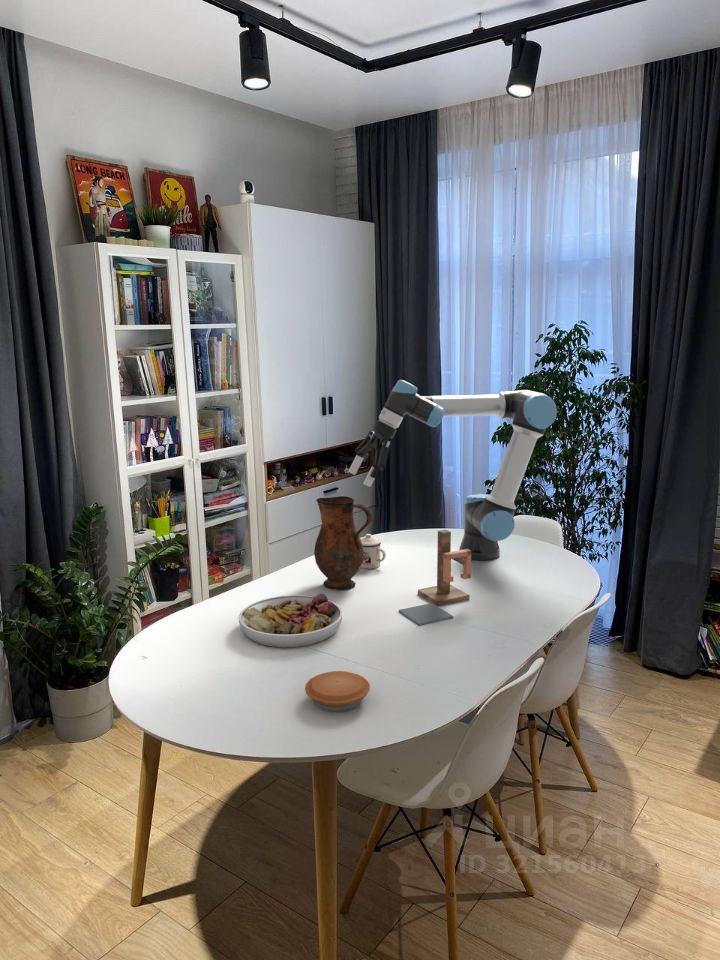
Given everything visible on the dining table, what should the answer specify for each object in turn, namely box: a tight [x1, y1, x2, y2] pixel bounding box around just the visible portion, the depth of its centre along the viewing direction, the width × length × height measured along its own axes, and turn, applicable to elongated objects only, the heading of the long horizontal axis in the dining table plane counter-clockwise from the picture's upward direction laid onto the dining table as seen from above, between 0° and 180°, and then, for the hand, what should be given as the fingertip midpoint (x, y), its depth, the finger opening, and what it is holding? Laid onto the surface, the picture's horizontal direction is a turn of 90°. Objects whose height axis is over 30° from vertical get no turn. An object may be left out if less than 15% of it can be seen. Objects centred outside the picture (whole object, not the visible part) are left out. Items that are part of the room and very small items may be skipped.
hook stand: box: [417, 529, 470, 607], centre depth 241 cm, size 16×12×22 cm
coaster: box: [398, 602, 454, 626], centre depth 231 cm, size 12×12×1 cm
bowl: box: [238, 593, 343, 648], centre depth 221 cm, size 30×30×8 cm
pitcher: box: [313, 495, 372, 591], centre depth 253 cm, size 17×21×30 cm
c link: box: [443, 549, 472, 583], centre depth 236 cm, size 9×2×9 cm, turn 117°
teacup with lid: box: [359, 533, 387, 569], centre depth 275 cm, size 12×9×12 cm
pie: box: [304, 670, 371, 713], centre depth 181 cm, size 15×16×5 cm
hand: (358, 479), depth 259 cm, fingers open, 13 cm apart
